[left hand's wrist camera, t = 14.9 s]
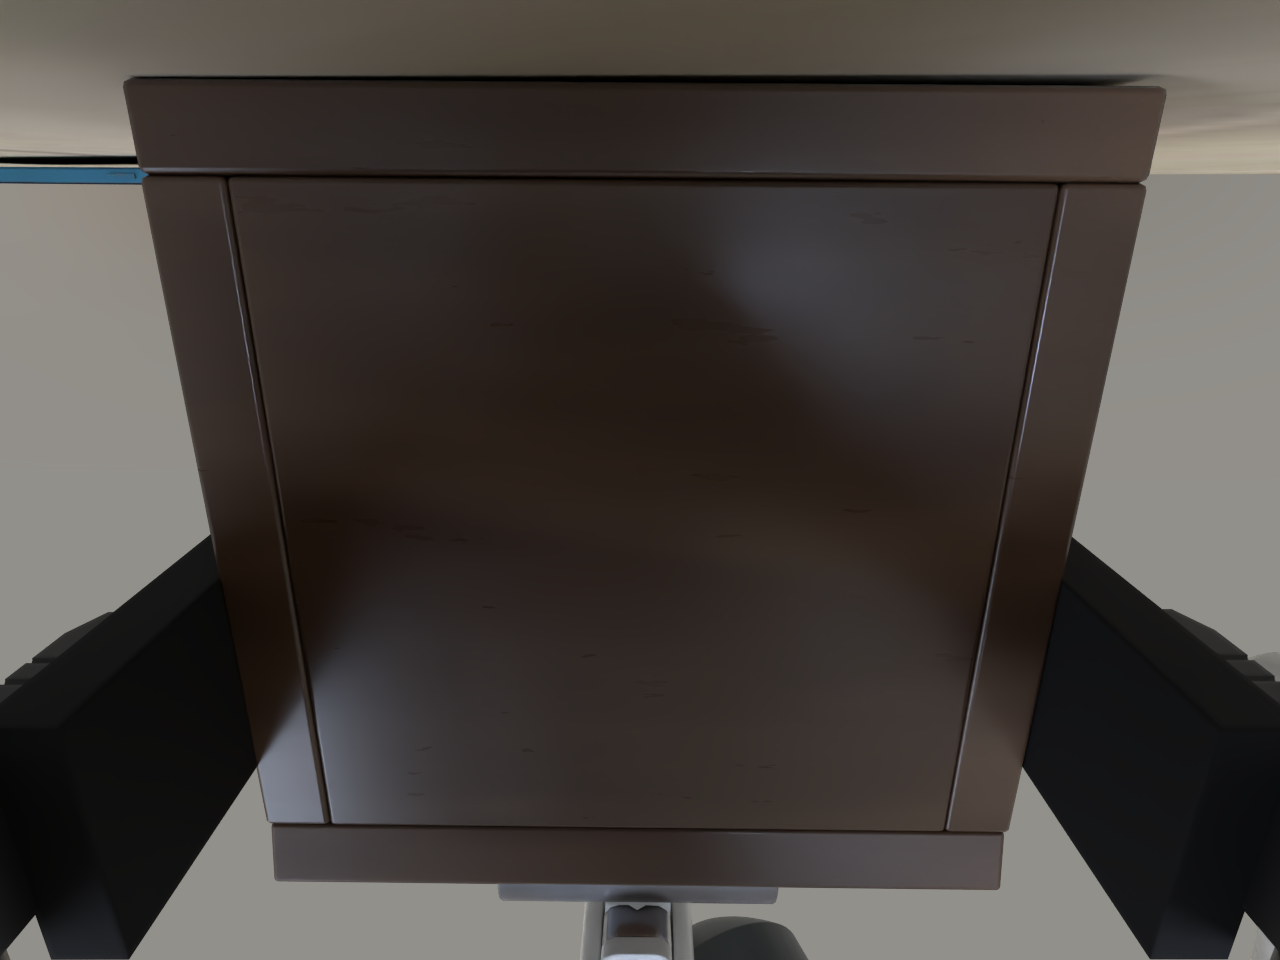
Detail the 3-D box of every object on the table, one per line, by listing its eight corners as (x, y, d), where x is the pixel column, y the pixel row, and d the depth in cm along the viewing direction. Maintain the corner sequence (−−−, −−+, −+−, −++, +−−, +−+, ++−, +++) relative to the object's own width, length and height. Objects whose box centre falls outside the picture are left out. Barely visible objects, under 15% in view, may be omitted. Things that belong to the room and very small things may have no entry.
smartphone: (-153, 181, 26) (265, 184, 24) (-159, 162, 26) (262, 163, 24) (47, 183, 33) (382, 186, 31) (43, 168, 33) (381, 170, 31)
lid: (803, 574, 24) (793, 824, 25) (479, 570, 24) (484, 820, 25) (1006, 831, 11) (965, 1347, 12) (269, 824, 11) (300, 1338, 12)
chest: (845, 151, 20) (814, 489, 23) (445, 148, 20) (469, 485, 23) (1172, 85, 7) (1009, 834, 10) (117, 77, 7) (265, 826, 10)
